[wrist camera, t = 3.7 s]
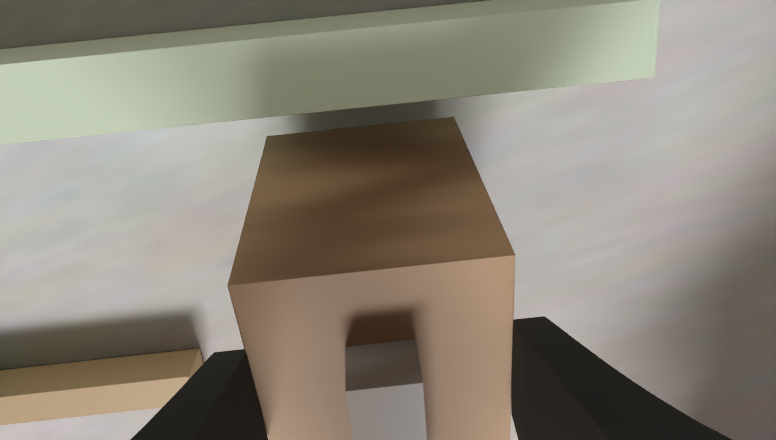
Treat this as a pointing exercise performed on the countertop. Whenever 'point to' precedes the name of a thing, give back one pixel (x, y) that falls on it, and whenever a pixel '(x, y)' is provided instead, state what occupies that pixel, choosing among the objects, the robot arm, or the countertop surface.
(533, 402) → the robot arm
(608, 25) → the wall board
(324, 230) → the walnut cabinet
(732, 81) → the countertop surface
